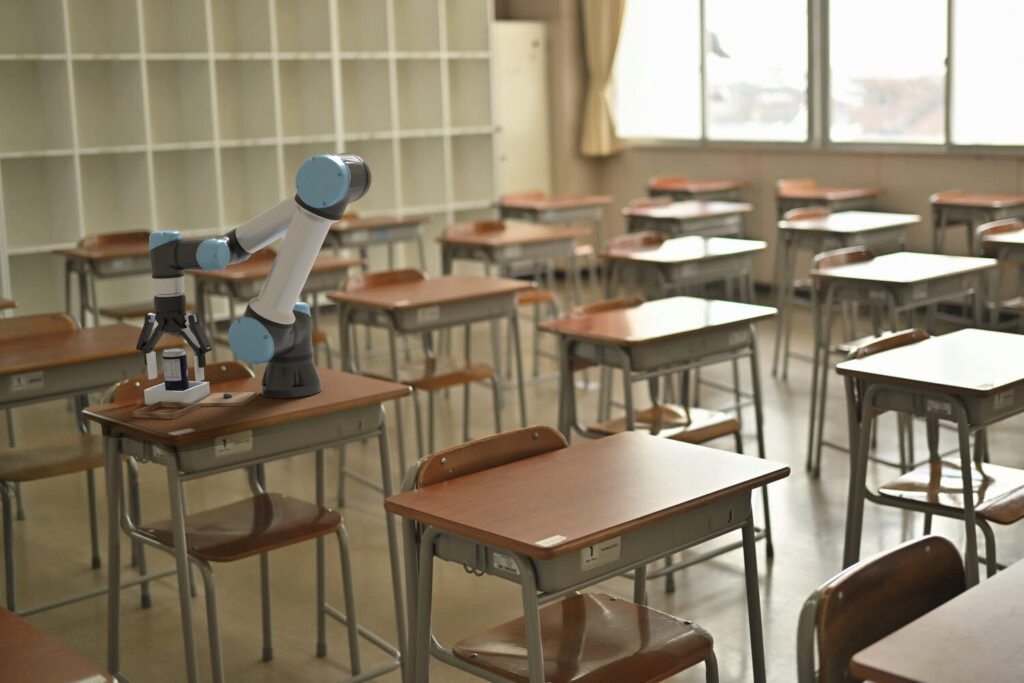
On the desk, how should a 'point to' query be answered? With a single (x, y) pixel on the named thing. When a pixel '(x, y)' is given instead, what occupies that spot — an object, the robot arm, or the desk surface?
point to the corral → (146, 414)
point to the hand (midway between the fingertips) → (176, 379)
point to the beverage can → (175, 370)
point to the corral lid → (228, 399)
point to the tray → (177, 393)
